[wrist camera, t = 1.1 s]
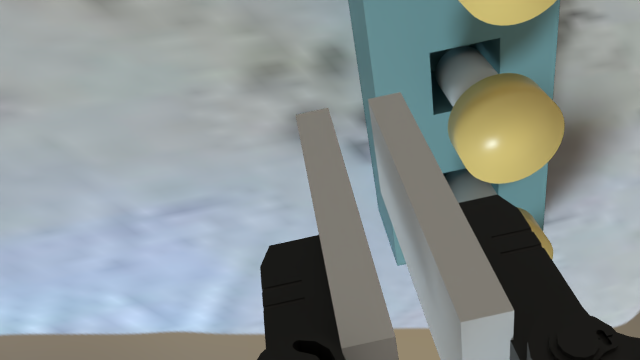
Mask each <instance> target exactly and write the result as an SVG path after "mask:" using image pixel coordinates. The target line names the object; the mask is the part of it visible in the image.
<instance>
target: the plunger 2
mask: <svg viewBox="0 0 640 360" xmlns="http://www.w3.org/2000/svg"><path fill="white" fill-rule="evenodd" d="M458 1H459V2H460V3H461V4H462V5H463V6H464V7H465V8H466V9H467V10H468V11H469V12H470V13H471V14H472V15H473V16H474V17H476V18H478V19H479V20H481V21H483V22H486V23H489V24H493V25H501V26H502V25H514V24H519V23H522V22H525V21H528V20H530V19H532V18H534V17H536V16H538V15H539V14H541V13H542V12H544V11H545V10H547V9H548V8H549V7H550V6H551V5H553V4H554V3H555V2H556V1H557V0H458Z"/></svg>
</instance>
